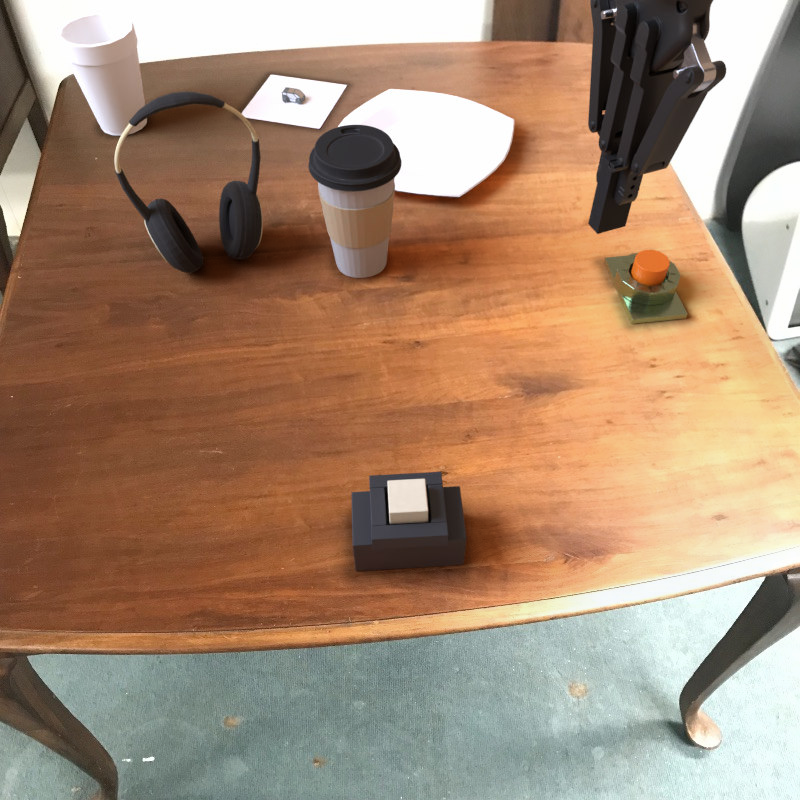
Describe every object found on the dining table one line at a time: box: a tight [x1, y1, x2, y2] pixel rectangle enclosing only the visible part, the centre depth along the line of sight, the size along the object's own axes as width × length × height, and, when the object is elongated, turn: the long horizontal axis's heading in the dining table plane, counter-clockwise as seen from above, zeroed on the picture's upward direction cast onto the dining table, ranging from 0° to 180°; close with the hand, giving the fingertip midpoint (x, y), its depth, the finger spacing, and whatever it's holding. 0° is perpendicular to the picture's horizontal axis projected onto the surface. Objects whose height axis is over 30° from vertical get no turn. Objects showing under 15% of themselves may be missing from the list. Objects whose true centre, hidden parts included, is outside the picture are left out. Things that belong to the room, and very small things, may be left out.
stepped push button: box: [350, 471, 467, 572], centre depth 63 cm, size 9×6×6 cm, turn 93°
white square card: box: [240, 74, 348, 130], centre depth 110 cm, size 12×12×2 cm
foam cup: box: [55, 11, 148, 137], centre depth 102 cm, size 10×9×13 cm
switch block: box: [603, 252, 688, 325], centre depth 84 cm, size 10×6×2 cm, turn 7°
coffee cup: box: [308, 125, 402, 279], centre depth 83 cm, size 9×9×15 cm
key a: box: [387, 479, 428, 524], centre depth 61 cm, size 3×3×2 cm
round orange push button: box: [631, 249, 671, 286], centre depth 83 cm, size 4×4×2 cm
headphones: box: [114, 90, 264, 274], centre depth 82 cm, size 9×15×20 cm, turn 112°
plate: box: [337, 88, 516, 199], centre depth 102 cm, size 23×23×2 cm
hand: (606, 224), depth 65 cm, fingers closed
